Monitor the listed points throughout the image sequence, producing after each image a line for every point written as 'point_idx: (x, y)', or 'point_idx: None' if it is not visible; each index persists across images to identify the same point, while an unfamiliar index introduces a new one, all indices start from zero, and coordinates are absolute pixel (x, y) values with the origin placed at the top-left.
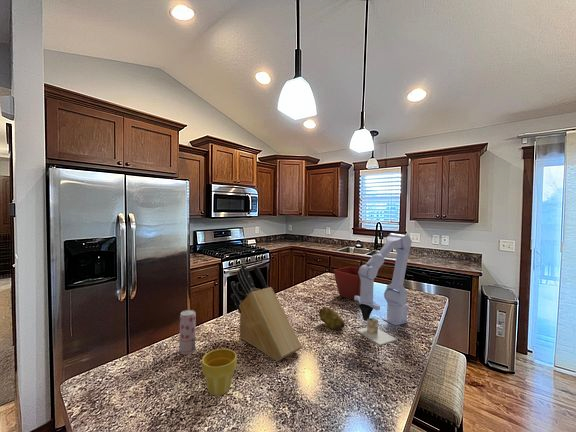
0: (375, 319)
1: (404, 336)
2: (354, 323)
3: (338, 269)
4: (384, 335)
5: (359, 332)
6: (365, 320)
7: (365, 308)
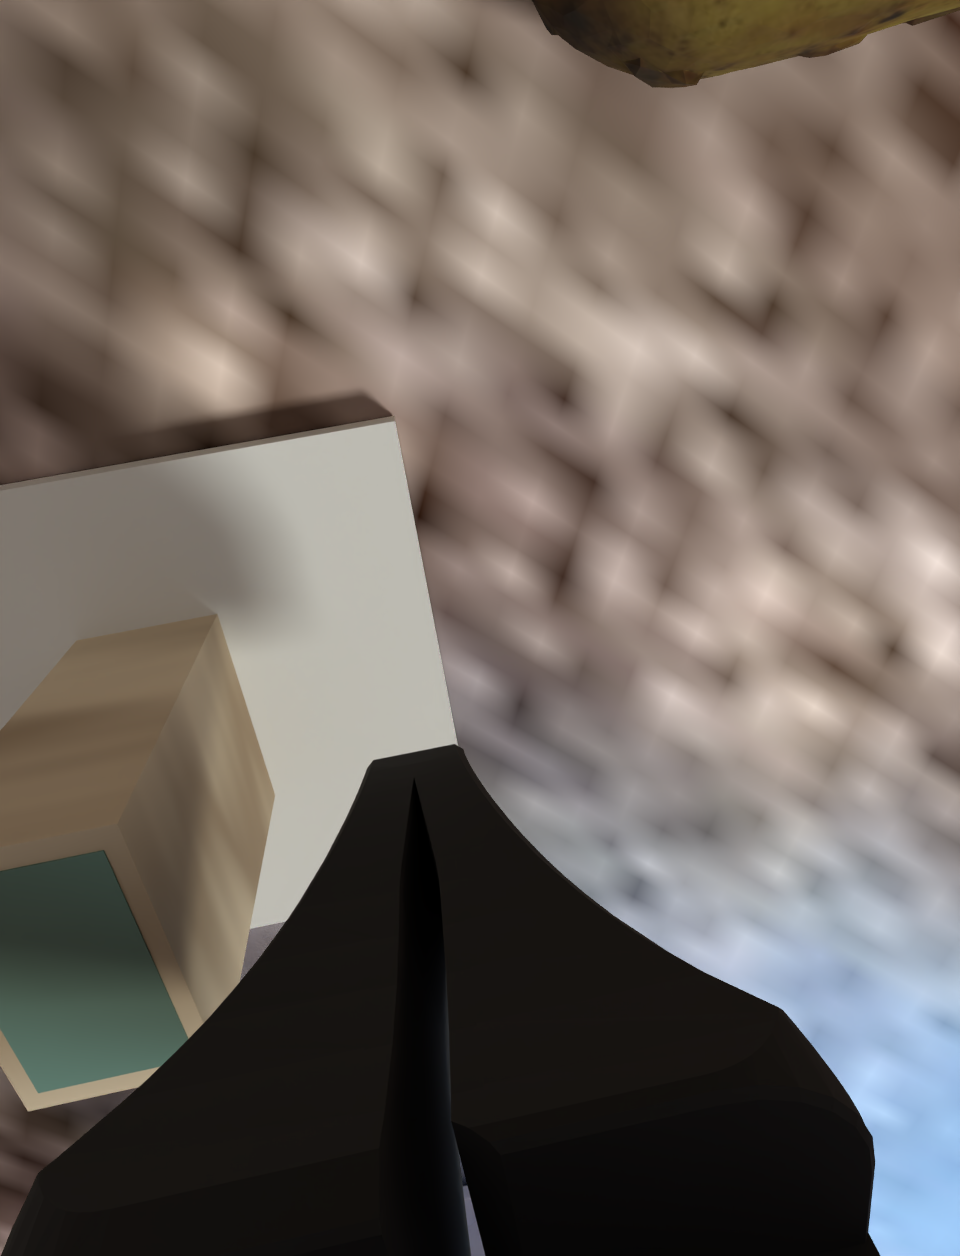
0: (38, 1049)
1: (13, 1156)
2: (754, 589)
3: None
4: None
5: (278, 437)
6: (365, 776)
7: (19, 1252)
